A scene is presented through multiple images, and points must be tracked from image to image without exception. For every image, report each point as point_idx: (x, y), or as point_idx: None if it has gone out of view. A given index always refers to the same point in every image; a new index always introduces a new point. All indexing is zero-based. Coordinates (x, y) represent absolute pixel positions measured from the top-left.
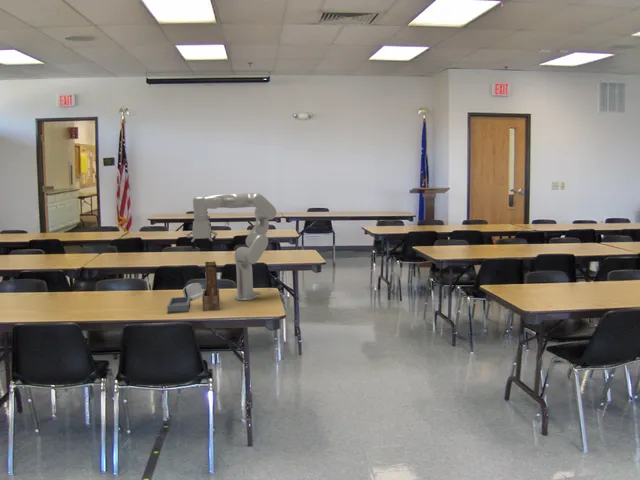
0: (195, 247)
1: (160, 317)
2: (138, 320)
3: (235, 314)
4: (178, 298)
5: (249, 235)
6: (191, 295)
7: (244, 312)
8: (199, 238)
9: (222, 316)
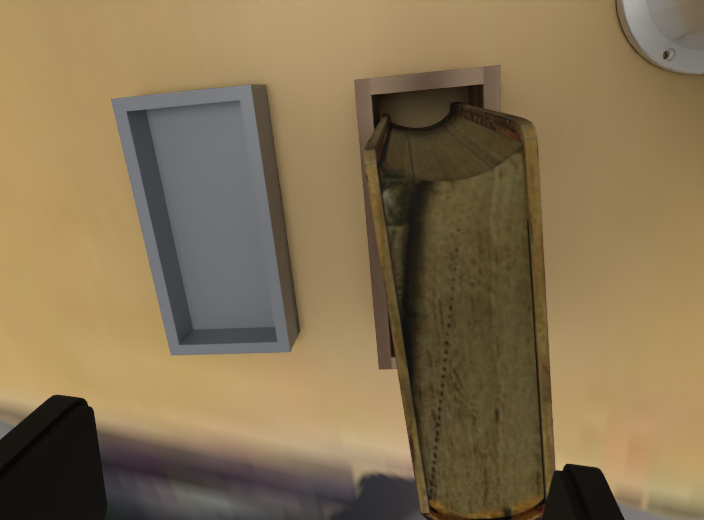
0: (80, 424)
1: (177, 405)
2: None
3: (577, 437)
4: (170, 106)
5: None
6: None
7: (635, 408)
8: None
9: None
